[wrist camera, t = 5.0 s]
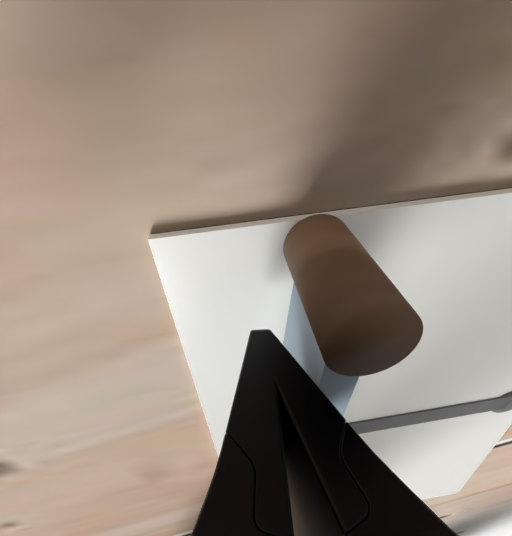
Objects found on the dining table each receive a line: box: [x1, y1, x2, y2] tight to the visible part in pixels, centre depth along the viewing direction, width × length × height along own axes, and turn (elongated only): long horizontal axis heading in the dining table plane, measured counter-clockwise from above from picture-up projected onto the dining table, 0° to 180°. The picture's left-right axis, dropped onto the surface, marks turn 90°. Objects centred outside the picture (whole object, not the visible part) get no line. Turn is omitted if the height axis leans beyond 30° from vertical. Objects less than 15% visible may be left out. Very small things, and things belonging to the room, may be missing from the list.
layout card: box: [148, 188, 512, 500], centre depth 17 cm, size 27×18×1 cm, turn 4°
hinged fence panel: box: [283, 214, 423, 416], centre depth 10 cm, size 12×2×4 cm, turn 176°
